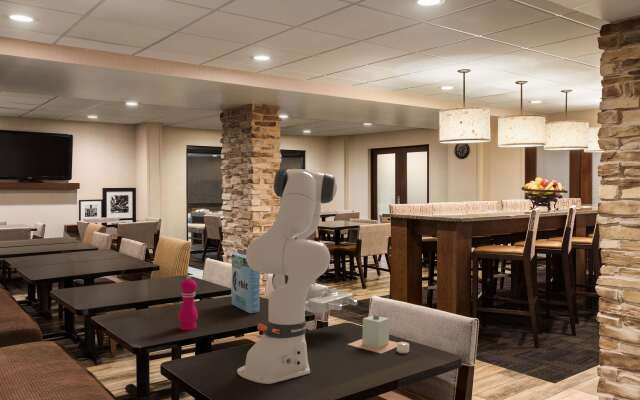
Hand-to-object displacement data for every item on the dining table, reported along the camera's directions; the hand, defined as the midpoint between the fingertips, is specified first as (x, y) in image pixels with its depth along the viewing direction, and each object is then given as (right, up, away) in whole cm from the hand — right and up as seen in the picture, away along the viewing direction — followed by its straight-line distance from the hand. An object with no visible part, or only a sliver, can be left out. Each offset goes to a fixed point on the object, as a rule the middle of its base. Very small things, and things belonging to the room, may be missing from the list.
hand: (348, 305), depth 196 cm
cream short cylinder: (+17, -13, -15) cm, 26 cm away
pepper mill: (-60, -10, +8) cm, 61 cm away
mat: (+9, -12, -8) cm, 17 cm away
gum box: (-43, -9, +41) cm, 60 cm away
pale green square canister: (+9, -12, -8) cm, 17 cm away
